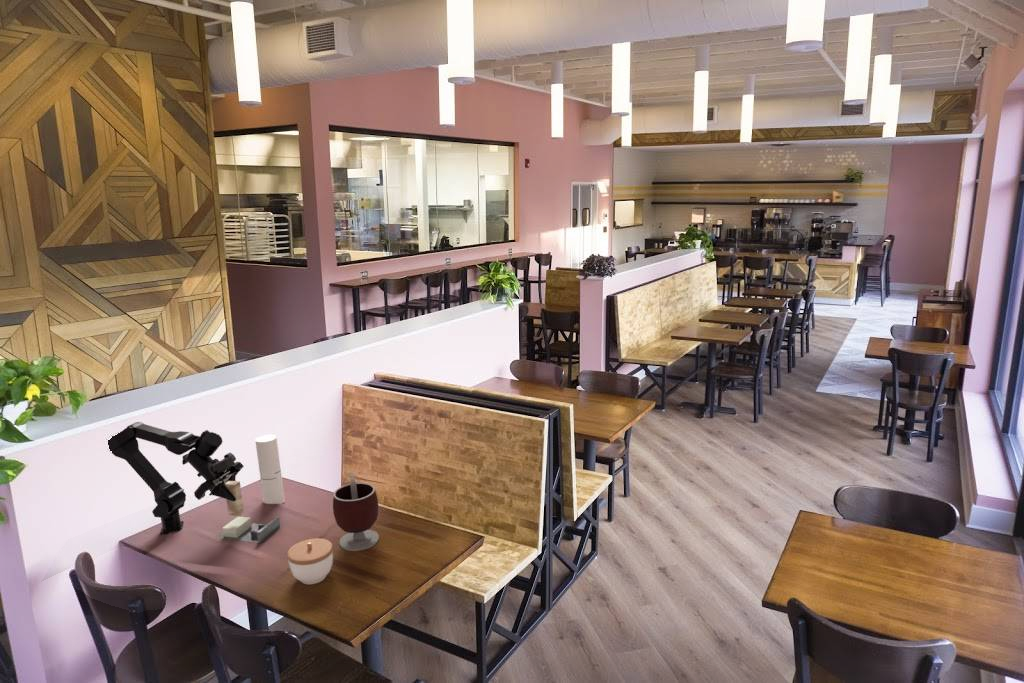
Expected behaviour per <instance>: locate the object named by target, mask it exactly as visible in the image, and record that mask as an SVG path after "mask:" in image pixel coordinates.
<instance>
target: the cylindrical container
mask: <svg viewBox="0 0 1024 683" xmlns="http://www.w3.org/2000/svg"><path fill="white" fill-rule="evenodd" d="M254 441H255V448H256V454H257V460H258V461H257V462H258V471H259V478H260V483H261V492H262V498H263V504H266V505H274V504H275V505H283V504H282V503H283V502H284V501H285V502H286V499H285V490H284V484H283V483H284V482H283V478H282V469H281V461H280V455H279V454H280V453H279V446H278V438H277V435H275V434H265V435H261V436H258V437H256V438H255V440H254Z"/></svg>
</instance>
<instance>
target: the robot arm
mask: <svg viewBox="0 0 1024 683" xmlns="http://www.w3.org/2000/svg"><path fill="white" fill-rule="evenodd" d="M119 432H120V433H119ZM119 432H117V433H118V434H117V433H116V434H117V435H115V436H112V435H111V436H112V438H111V439H110V440H108V445H109V449H110V451H112V453H111V454H112V455H113V456H115V457H116V458H119V459H122V460H125V461H126V462H127V463H128V465H129V466H130V467H131V468H132V469H133V470H134V472H135V473H137V475H138V476H139V477H140V479H141V480H142V481H143V482H144V483H145V484H146V485H147V486H148V488H150V490H152V492H153V497H154V501H155V503H156V506H155V507H154V508H153V509H152V511H151V512H152V514H153V516H154V518H160V521H161V529H160V532H159V533H160V535H165V534H169V533H175V532H180V531H182V530H183V526H184V524H185V523H184V520H181V516H180V509H182V508H183V507H184V506H185V503H186V497H187V494H186V492H185V489H184V488H182V487H181V486H180V484H179V483H178V482H177V481H174V482H172V483H171V482H168V481H167V480H166V479H165V478H164V477H163V475H162V474H161V473H160V472H159V471H158V470H157V469H156V467H155V466H154V465H153V464H152V463H151V462H150V461H149V460H148V459H147V457H146V456H145V455H144V454H143V453H142V452H141V450H140V447H139V440H138V439H140V440H143V441H146V442H150V443H152V444H153V443H154V444H157V445H160V446H163V447H165V448H166V450H167V451H168V452H170V453H172V454H174V455H176V456H177V455H178V456H181V455H182V462H181V463H182V465H183V466H184V465H186V464H188V463H189V465H190V466H192V467H193V469H194V470H195V471H197V474H196V475H197V476H198V478H200V477H202V478H203V479H204V480H205V481H204V482H202V483H201V484H200V485H198V487H197V489H196V490H195V491H194V493H193V494H194V497H195V498H196V499H197V501H200V500H201V499H203V498H205V496H206V492H208V491H209V492H210V493H209V494H208V496H214V497H219V498H222V499H225V500H226V499H228V500H231V501H235V500H236V498H235V497H234V496H233V494H232V493H231V492H230V491H229V490H228V489H227V488H226V487H225V483H226V482H228V481H236V478H237V477H236V476H237V475H238V474H239V472H240V471H241V470H242V469H243V468H244V466H245V465H243V464H242V462H240V461H236V459H237V458H236V456H235V455H234V454H233V453H232V452H228V453H226V454H225V455H224V456H223V459H220V460H219V459H218V458H212V456H213V455H214V454H215V452H217V450H218V449H219V448H220V446H222V444H223V438H222V436H221V435H220V434H217V433H215V432H213V431H209V430H208V429H206V430H204V431H202V432H201V433H200V435H197V434H194V433H192V432H190V431H179V430H178V431H169V430H166V429H162V428H158V427H156V426H152V425H148V424H144V423H143V422H141V421H137V422H134V423H132V424H130V425H127V426H126V427H125V428H124V429H122V430H121V431H119ZM110 451H109V452H110ZM187 452H188V453H187ZM185 453H186V454H185ZM183 454H184V455H183ZM235 461H236V462H235Z"/></svg>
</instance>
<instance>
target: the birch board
mask: <svg viewBox="0 0 1024 683" xmlns="http://www.w3.org/2000/svg"><path fill="white" fill-rule="evenodd" d="M225 487H226V488H227V489H228V490H229V491H230V492H231V493H232V494H233V496H234V497H235V498H236V500H235V501H231V500H228V499H225V500H226V505H227V507H226V508H227V512H228V516H233V517H235V516H236V517H238V516H239V517H241V515H243V514H244V513H245V509H244V503H243V502H244V501H243V495H242V494H243V493H242V488H241V481H240V480H239V481H238V480H237V481H228V482H226V483H225Z"/></svg>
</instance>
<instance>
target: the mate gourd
mask: <svg viewBox="0 0 1024 683" xmlns="http://www.w3.org/2000/svg"><path fill="white" fill-rule="evenodd" d="M349 481H350V482H349V484H345V485H342V486H340V487H338V488H337V489H336V490H334V492H333V493H332V494H333V497H332V498H333V499H332V510H333V516H334V520H335V522H336V525H337V526H338V527H339V528H340V529H341V530H342V531H343V532H345V533H346V534H344V535H343V536H342V537H341V538H340V540H339V546H340V548H341V549H343V550H345V551H349V552H358V551H364V550H367V549H370V548H372V547H373V546H375V545H377V543H378V542H379V540H380V538H379V537H380V536H379V534H378V532H377V531H375V530H372V529H371V528H372V527H373V526H374V525H375V523H376V521H377V520H378V517H379V499H378V495H377V492H376V487H375V485H373V484H371V483H368V482H366V483H365V482H356V478H355V476H354V472H350V480H349Z"/></svg>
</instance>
